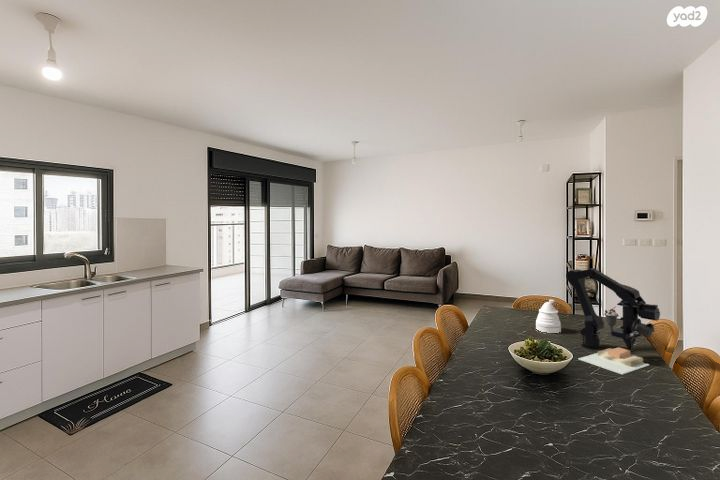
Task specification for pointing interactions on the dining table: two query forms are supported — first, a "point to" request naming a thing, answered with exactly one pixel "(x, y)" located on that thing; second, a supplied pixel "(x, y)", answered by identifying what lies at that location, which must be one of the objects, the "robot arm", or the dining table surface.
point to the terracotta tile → (619, 352)
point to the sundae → (611, 318)
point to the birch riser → (627, 360)
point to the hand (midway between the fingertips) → (630, 349)
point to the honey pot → (548, 319)
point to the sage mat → (611, 364)
